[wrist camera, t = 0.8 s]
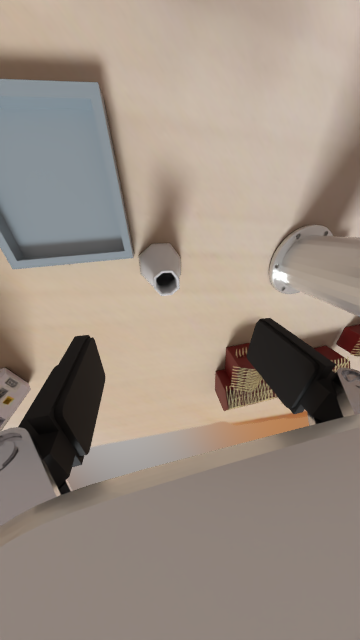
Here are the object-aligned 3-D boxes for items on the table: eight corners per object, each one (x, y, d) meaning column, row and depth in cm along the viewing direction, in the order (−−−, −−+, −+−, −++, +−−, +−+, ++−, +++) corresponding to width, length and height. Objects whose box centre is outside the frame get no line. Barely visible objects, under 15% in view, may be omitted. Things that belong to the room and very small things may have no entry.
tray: (103, 99, 18) (97, 82, 15) (134, 255, 26) (133, 257, 24) (-68, 95, 16) (-102, 75, 13) (24, 265, 24) (13, 269, 22)
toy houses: (214, 394, 50) (228, 430, 41) (216, 343, 39) (235, 377, 30) (341, 365, 54) (377, 391, 46) (373, 312, 44) (428, 333, 35)
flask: (130, 252, 25) (122, 265, 17) (172, 234, 25) (186, 239, 17) (149, 291, 29) (151, 318, 21) (186, 277, 29) (202, 298, 21)
